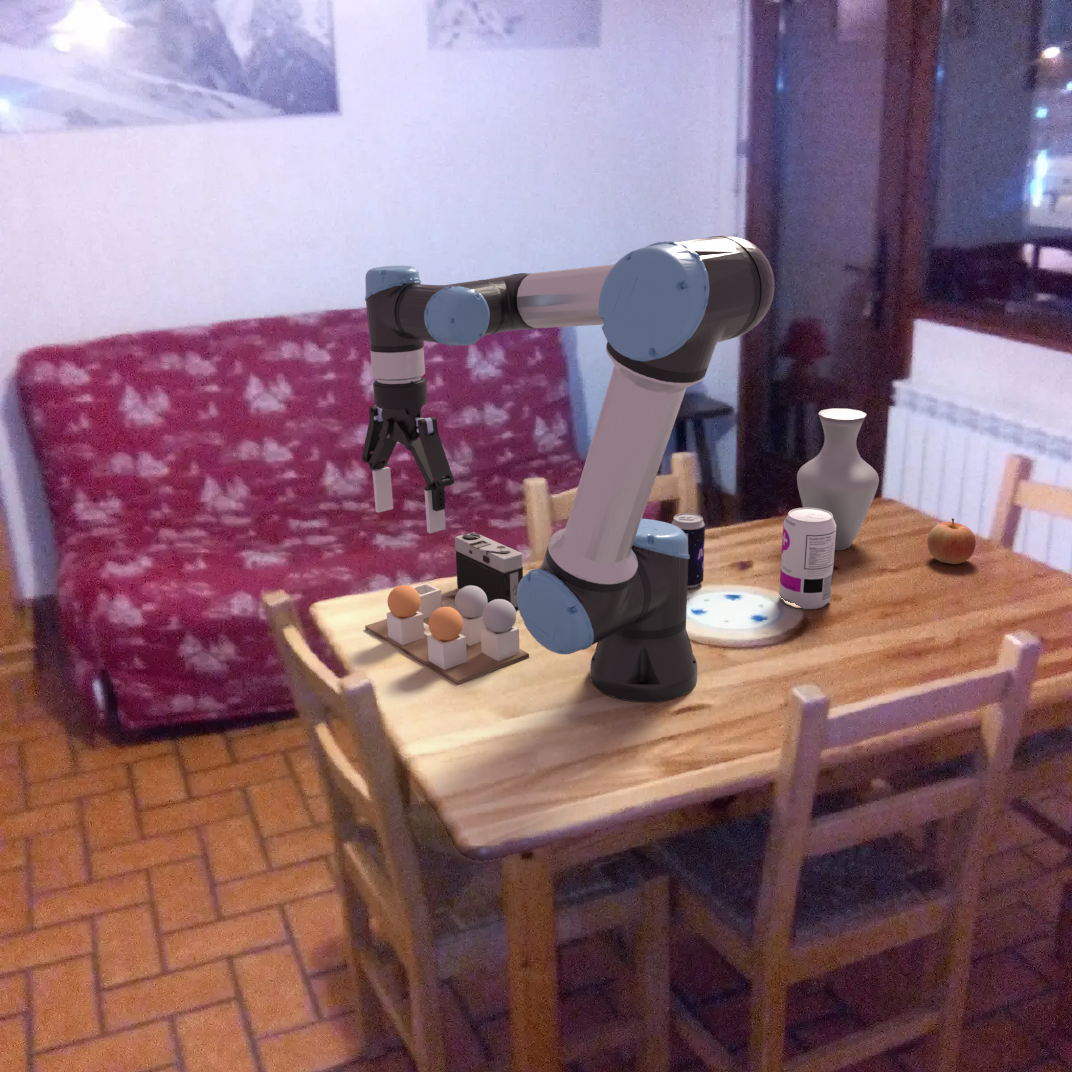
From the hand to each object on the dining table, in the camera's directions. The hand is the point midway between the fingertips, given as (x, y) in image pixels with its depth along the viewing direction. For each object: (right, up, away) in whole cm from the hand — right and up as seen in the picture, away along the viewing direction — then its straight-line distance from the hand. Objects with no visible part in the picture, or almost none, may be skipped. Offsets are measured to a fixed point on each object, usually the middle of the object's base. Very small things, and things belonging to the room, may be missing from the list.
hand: (409, 520), depth 166 cm
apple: (+92, -7, +34) cm, 98 cm away
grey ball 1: (+9, -15, +5) cm, 18 cm away
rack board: (+5, -19, +6) cm, 20 cm away
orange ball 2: (+6, -17, -3) cm, 18 cm away
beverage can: (+44, -11, +26) cm, 53 cm away
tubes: (+5, -19, +6) cm, 20 cm away
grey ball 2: (+13, -16, 0) cm, 21 cm away
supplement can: (+63, -13, +18) cm, 67 cm away
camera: (+12, -12, +23) cm, 29 cm away
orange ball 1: (-1, -15, +5) cm, 16 cm away
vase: (+74, -4, +43) cm, 85 cm away
